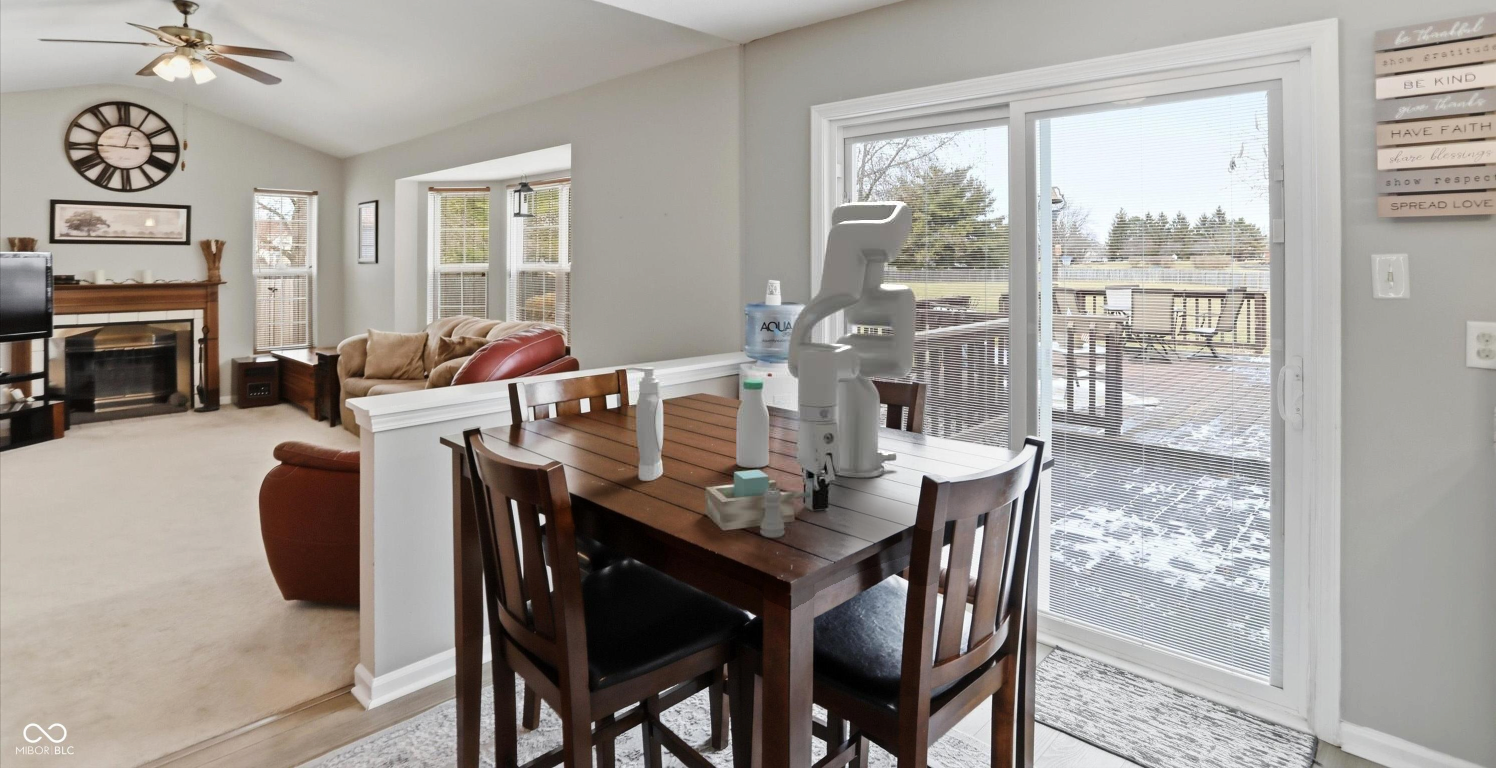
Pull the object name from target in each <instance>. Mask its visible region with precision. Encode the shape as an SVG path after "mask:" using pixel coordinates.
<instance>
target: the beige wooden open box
mask: <svg viewBox="0 0 1496 768" xmlns="http://www.w3.org/2000/svg"><path fill="white" fill-rule="evenodd" d="M769 488H772V491H774V488H777V481H775V480H774V479H769ZM780 493H781V494H782V497H781V498H780V500H779V502H780V503H781V505H780V508H779V510H780V517H781V520H782V522H783V523H789V522H795V499H794V494H795V492H793V491H783V492H781V491H780ZM765 502H766V499H765V497H764V495H755V496H747V497H738V498H734V483H733V484H726V485H725V484H724V485H718V486H715V485H714V486H707V487H705V507H704V511H705V515H706V516H707V517H708V518H709V519H711V520H712V522H714V523H715V525H717V526H718V527H719V528H720V529H721V530H722V531H729V530H737V529H738V530H739V529H745V528H752V527H760V525H761V523H762V522H763V519H764V517H765V511H766V505H765Z"/></svg>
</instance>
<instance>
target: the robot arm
mask: <svg viewBox="0 0 1496 768" xmlns="http://www.w3.org/2000/svg"><path fill="white" fill-rule="evenodd" d="M912 225H913V215H912V211H911V209H910V207H909V205H908V204H907V203H904V202H901V201H884V202H883V201H877V202H873V201H872V202H869V201H867V202H865V201H863V202H850V203H844V204H840V205H838V206H836V207H835V208H834V209H833V211H832V213H831V227H832V228H830V230H829V232H828V236H827V241H826V249H825V254H824V260H823V261H824V262H823V268H822V275H821V279H820V280H821V281H820V289H819V291H818V293H817V294H816V295H815V296H814V297H813V298H812V299H811V300H810V301H809V302H808V303H807V304H805V306H804V307H803V308H802V309H801V311H800V312H799V314H798V316H797V317H796V319H795V320H794V323H793V325H792V328H791V332H790V339H789V343H788V351H787V362H786V363H787V368H788V372H789V374H790V376H792V377H793V378H795V379H797V421H798V427H797V428H798V429H797V438H796V439H797V440H796V461H797V464H798V465H799V467H800V469H801V473H802V483H803V493H805V487H806V479H811V478H814V488H815V489H812V509H813V510H816V511H822V510H821V509H823V510H827V509H828V508H829V496H830V495H829V492H830V491H829V490H830V489H831V484H832V483H834V482H836V476H835V475H837V476H842V477H846V478H857V479H858V478H861V479H863V478H864V479H865V478H874V477H879V476H881V475H882V474H884V472H885V466H884V465H883V464H884V463H885V462H891V461H893V462H894V461H896V460H897V453H896V452H887V453H886V452H885V451H880V450H879V429H880V428H879V423H880V403H881V402H880V393H879V391H878V389H877V387H876V385H875V384H874V383H873V381H872V379H871V378H884V379H885V378H886V379H887V378H888V379H890V378H891V379H902V378H903V379H904V378H906V377H907V376H909V375H910V374H911V371H912V369H913V363H914V355H915V340H916V339H915V338H916V337H915V336H916V323H917V301H916V300H917V299H916V295H915V293H914V291H913V290H912V289H911V288H910V287H908V286H906V285H901V284H899V285H897V284H895V285H894V284H885V281H884V279H885V264H887V263H888V264H889V263H892V262H894V261H895V260H896V259H897V258H898V257H899V255H900V253H901V251H902V249H903V248H904V246H905V244H906V242H907V241H908V238H909V236H910V234H911V231H912V227H913V226H912ZM842 310H843V318H844V321H845V322H846V323H847V324H848V325H850V326H852V327H856V328H857V327H858V328H871V329H872V328H874V329H890V330H892V334H884V333H882V334H881V333H879V334H878V333H863V332H852V333H845V334H844V335H842V336H840V337H839V338H838V339H837V340H836V342H835V343H830V342H829V343H827V342H810V341H809V338H810V335H811V333H812V330H813V329H814V327H816V326H817V324H818V323H820V321H823V320H824V319H825V318H827V317H829V316H832V315H833V314H836V313H838V312H840V311H842ZM823 471H824V472H823ZM819 478H821V480H820V481H819ZM802 499H803V504H804V505H805V498H802Z"/></svg>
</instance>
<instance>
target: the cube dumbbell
mask: <svg viewBox="0 0 1496 768" xmlns="http://www.w3.org/2000/svg"><path fill="white" fill-rule="evenodd" d="M821 479H822V477H819V481H820V480H821ZM769 480H770V476H769V475H768V474H766V473H765V472H763V471H761V470H760V469H759V468H757V469H752V470H751V469H750V470H741V471H734V472H733V484H734V498H738V497H747V496H755V495H764V494H765V493H766V489H768V491H769ZM805 484H806V487H805V493H804V492H797V493H794V500H796V499H797V500H798V499H803V498H805V504H804V505H805V508H806V509H808V510H810V511H812V512H814V511H817V510H813V509H812V489H815V488H814V478H811V479H806V483H805ZM823 510H824V509H821V510H820V511H823Z"/></svg>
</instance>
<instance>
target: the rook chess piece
mask: <svg viewBox="0 0 1496 768" xmlns="http://www.w3.org/2000/svg"><path fill="white" fill-rule="evenodd" d="M764 497H765V499H766V502H765V505H766V511H765V517H764V519H763V522H762V523H761V525H760V526H759V527H760V530H759V533H760V534H761V536H763V537H765V538H769V539H778V538H781V537H783V536H784V534H785V533H786V530H785V524H784V523H785V522H782V520H781V517H780V510H779V508H780V505H781V503H780V502H779V500H780V498H781V497H782V494H781V489H780V488H777V487H776V488H774V491H772V488H769V491H768V489H766V493H765V494H764Z"/></svg>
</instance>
